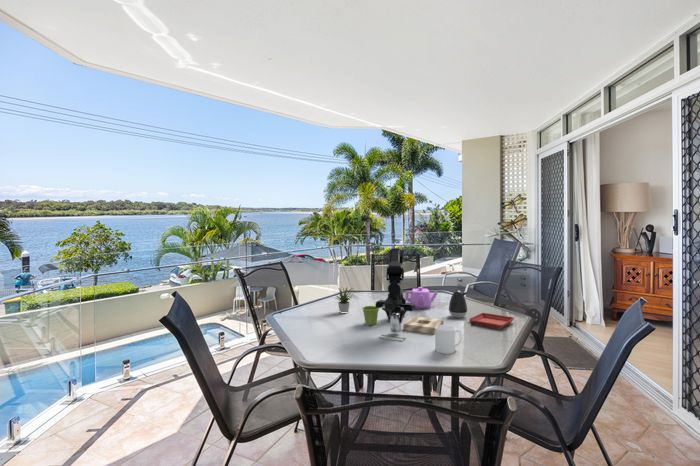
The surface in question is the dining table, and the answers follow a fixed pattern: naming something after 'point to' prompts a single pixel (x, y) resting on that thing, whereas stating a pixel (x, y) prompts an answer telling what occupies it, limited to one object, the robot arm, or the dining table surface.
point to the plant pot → (370, 314)
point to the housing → (422, 324)
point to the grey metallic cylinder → (395, 322)
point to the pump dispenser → (458, 304)
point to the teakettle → (420, 298)
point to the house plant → (344, 300)
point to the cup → (446, 339)
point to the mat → (392, 338)
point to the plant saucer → (491, 320)
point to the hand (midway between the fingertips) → (395, 322)
